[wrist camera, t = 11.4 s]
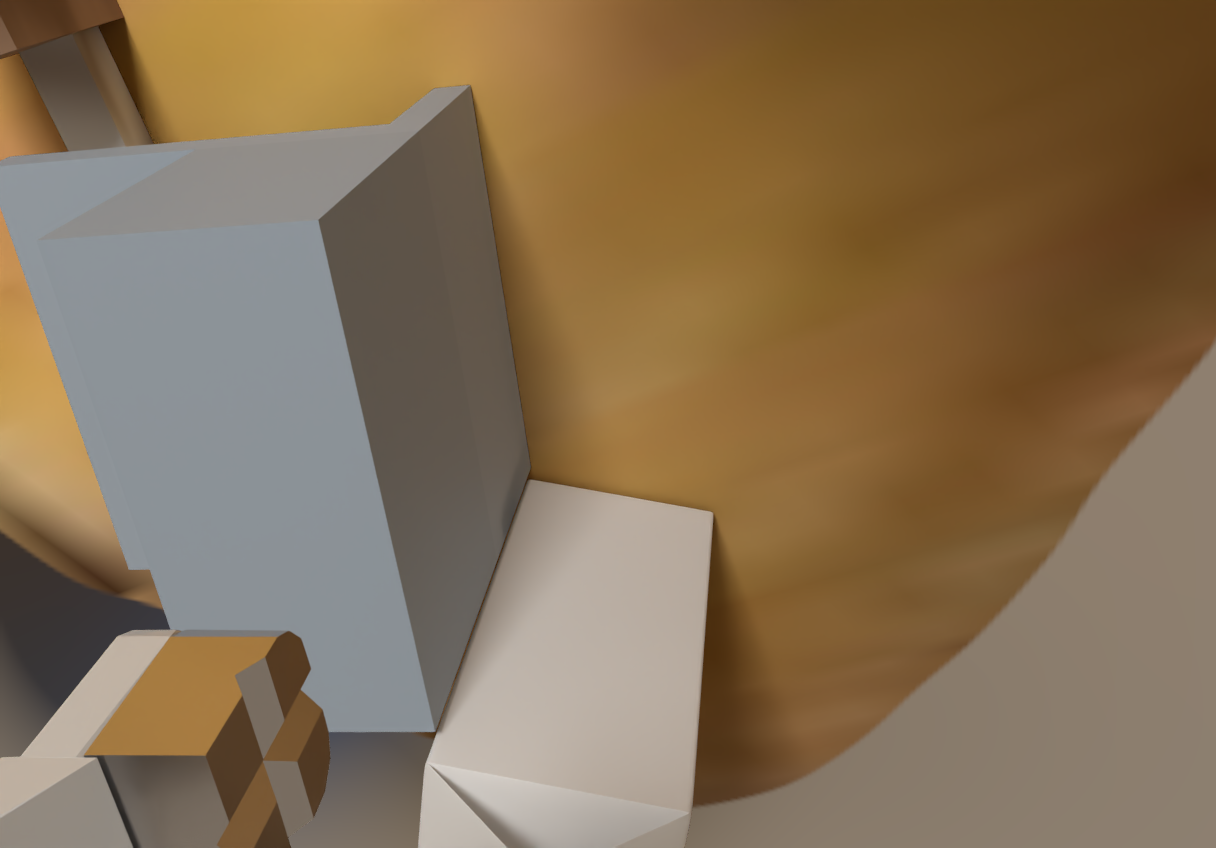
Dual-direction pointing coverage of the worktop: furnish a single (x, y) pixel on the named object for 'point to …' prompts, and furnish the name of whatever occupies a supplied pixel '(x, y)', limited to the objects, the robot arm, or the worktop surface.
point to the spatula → (74, 69)
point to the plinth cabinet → (293, 385)
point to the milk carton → (578, 682)
